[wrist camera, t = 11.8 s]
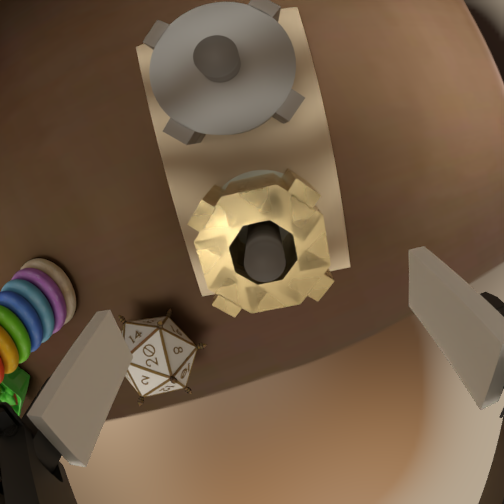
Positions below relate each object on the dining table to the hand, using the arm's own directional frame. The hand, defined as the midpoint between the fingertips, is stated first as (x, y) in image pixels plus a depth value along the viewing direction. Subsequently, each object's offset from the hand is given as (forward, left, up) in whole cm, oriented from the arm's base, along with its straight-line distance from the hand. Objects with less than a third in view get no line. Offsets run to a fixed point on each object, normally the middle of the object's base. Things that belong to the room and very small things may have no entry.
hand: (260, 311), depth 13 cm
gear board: (-6, 0, -15) cm, 16 cm away
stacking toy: (+2, -24, -15) cm, 28 cm away
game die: (+9, -12, -15) cm, 21 cm away
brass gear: (0, 0, -13) cm, 13 cm away
